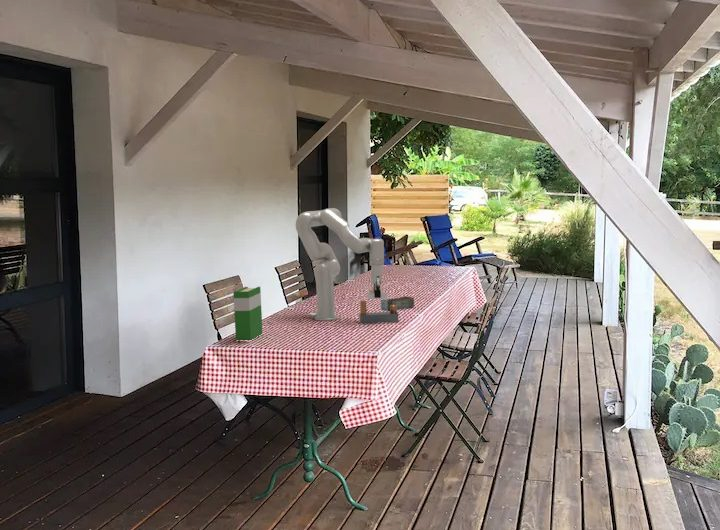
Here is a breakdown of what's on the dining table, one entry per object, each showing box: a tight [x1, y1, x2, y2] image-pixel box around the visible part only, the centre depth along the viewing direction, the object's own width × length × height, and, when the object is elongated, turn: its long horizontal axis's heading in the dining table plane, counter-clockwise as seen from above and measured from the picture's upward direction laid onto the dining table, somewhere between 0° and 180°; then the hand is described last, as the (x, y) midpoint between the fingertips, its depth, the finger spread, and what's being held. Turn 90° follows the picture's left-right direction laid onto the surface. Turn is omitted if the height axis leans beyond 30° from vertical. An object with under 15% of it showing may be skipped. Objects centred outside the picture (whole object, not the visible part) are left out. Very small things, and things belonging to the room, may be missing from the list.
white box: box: [366, 288, 388, 300], centre depth 376 cm, size 10×5×4 cm, turn 95°
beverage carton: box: [380, 296, 415, 312], centre depth 417 cm, size 8×19×7 cm, turn 121°
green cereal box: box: [232, 286, 264, 341], centre depth 344 cm, size 18×7×24 cm, turn 170°
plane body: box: [358, 300, 400, 324], centre depth 377 cm, size 20×7×12 cm, turn 95°
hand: (377, 296), depth 376 cm, fingers closed on white box, 5 cm apart
